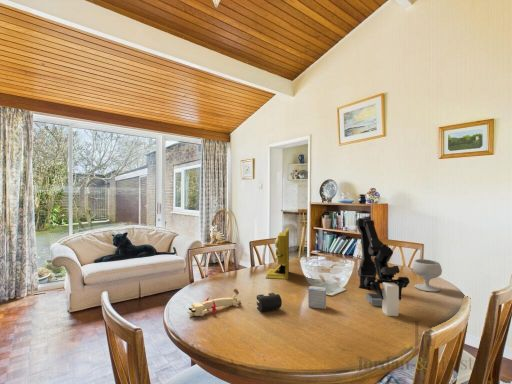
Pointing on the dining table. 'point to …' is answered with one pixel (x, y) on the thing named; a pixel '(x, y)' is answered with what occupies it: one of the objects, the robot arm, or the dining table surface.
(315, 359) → the dining table surface
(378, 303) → the dock tray
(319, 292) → the medicine box
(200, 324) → the dining table surface
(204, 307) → the cat figure
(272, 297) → the end cap
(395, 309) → the block
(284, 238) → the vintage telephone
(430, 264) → the chalice
